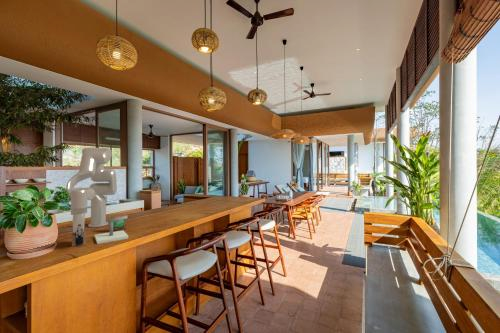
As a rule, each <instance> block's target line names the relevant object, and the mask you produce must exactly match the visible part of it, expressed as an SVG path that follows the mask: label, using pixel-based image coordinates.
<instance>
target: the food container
mask: <svg viewBox="0 0 500 333" xmlns="http://www.w3.org/2000/svg"><path fill="white" fill-rule="evenodd" d="M128 217H129V216H128V215H123V216H120V215H117V216H108V217H107V220H108V221H109V222H108V224H109V223H110V222H113V232H116V231H122V230H124V231H126V227H127V219H128Z"/></svg>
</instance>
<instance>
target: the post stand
mask: <svg viewBox="0 0 500 333" xmlns="http://www.w3.org/2000/svg"><path fill="white" fill-rule="evenodd" d="M108 225H109V230H108V231H109V232H103V233H97V234H94V239H95V241H96V244H97V245H99V244H104V243H109V242H110V243H111V242H116V241H121V240H127V239H129V235H128V234H127V233H126V231H125V230H122V231H116V232H113V222H110V223H109V222H108Z"/></svg>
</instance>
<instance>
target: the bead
mask: <svg viewBox="0 0 500 333" xmlns="http://www.w3.org/2000/svg"><path fill="white" fill-rule="evenodd" d="M82 234H83V244H79V245H76V232H75V233H73V232H72V233H71V247H72V248H73V247H74V248H75V247H79V246H85V245H87V231H86V230H85V231H83V232H82Z"/></svg>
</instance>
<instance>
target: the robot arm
mask: <svg viewBox="0 0 500 333" xmlns="http://www.w3.org/2000/svg"><path fill="white" fill-rule="evenodd" d="M112 156H113V152H112V150H111V148H109V147H84V148H82V149H81V157H80V164H79V168H78V172H77V173H75V174H74V175H72V176H71V177H70V178H69V180H68V182H67V183H66V187H65V191H66V190H67V192H68V193H69V196H70V198H71V201H70V200H68V201H70V215H71V216H72V233H76V245H79V244H83V234H82V232H84V230H85V224H86V223H85V222H86V221H85V220H86V219H85V218H86V217H85V216H86V215H85V214H88V201H90V223H89V224H88V227H89V228H96V227H97V228H99V227H104V226H107V225H109V222H108V221H107V201H106V199H105V197H103V196H114V195H115V194H117V192H118V191H117V190H118V187H117V186H118V184H117V172H116V170H114V169H113V168H105V165H107V164H108V163H110V160H111V159H112ZM87 179H91V181H92V182H94V183H91V184H90V185H89V187H75V186H76V185H77V184H79V183H80V182H81V181H85V180H87Z"/></svg>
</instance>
